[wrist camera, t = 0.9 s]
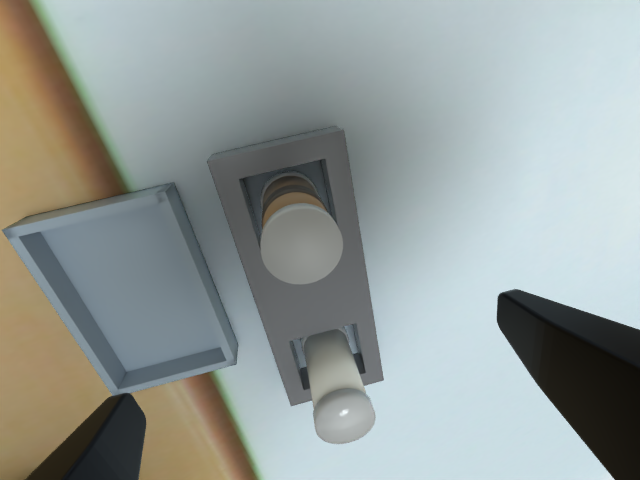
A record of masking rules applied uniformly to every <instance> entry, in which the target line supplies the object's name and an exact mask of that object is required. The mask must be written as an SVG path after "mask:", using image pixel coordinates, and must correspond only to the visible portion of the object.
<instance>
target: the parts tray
mask: <svg viewBox="0 0 640 480" xmlns="http://www.w3.org/2000/svg"><path fill="white" fill-rule="evenodd" d="M2 231H3V233H4V234H5V236H6V237H7V239H8V240H9V242H10V243H11V245H12V246H13V248H14V249H15V250H16V252H17V253H18V255H19V256H20V258H21V259H22V261H23V262H24V264H25V265H26V267H27V268H28V270H29V271H30V273H31V274H32V276H33V277H34V279H35V280H36V282H37V283H38V285H39V286H40V288H41V289H42V291H43V292H44V294H45V295H46V297H47V298H48V300H49V301H50V303H51V304H52V306H53V307H54V309H55V310H56V312H57V313H58V315H59V316H60V318H61V319H62V321H63V322H64V324H65V325H66V327H67V328H68V330H69V331H70V333H71V334H72V336H73V337H74V339H75V340H76V342H77V343H78V345H79V346H80V348H81V349H82V351H83V352H84V354H85V355H86V357H87V358H88V360H89V361H90V363H91V364H92V366H93V367H94V369H95V370H96V372H97V373H98V375H99V376H100V378H101V379H102V380H103V382H104V383H105V385H106V386H107V388H108V389H109V391H110V392H111V394H112V395H113V396H114V395H118V394H122V393H132V392H136V391H139V390H143V389H147V388H151V387H154V386H158V385H162V384H165V383H169V382H173V381H176V380H180V379H184V378H188V377H191V376H195V375H199V374H202V373H206V372H210V371H213V370H217V369H221V368H225V367H228V366H232V365H236V364H237V352H238V343H237V340H236V338H235V335H234V333H233V330H232V328H231V325H230V323H229V320H228V318H227V315H226V313H225V310H224V308H223V305H222V303H221V300H220V298H219V295H218V292H217V290H216V287H215V285H214V282H213V280H212V277H211V275H210V272H209V270H208V267H207V265H206V262H205V260H204V257H203V255H202V252H201V250H200V247H199V245H198V242H197V240H196V237H195V235H194V232H193V230H192V227H191V225H190V222H189V219H188V217H187V214H186V212H185V209H184V207H183V204H182V202H181V199H180V197H179V194H178V192H177V189H176V187H175V184H174V183H169V184H165V185H161V186H156V187H152V188H148V189H143V190H139V191H135V192H131V193H126V194H122V195H118V196H113V197H109V198H105V199H101V200H96V201H92V202H88V203H83V204H79V205H75V206H70V207H66V208H62V209H58V210H53V211H49V212H45V213H40V214H36V215H32V216H28V217H25V218H23V219H21V220H19V221H18V222H16V223H14V224H12V225H10V226H8V227H6V228H5V229H3V230H2Z"/></svg>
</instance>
